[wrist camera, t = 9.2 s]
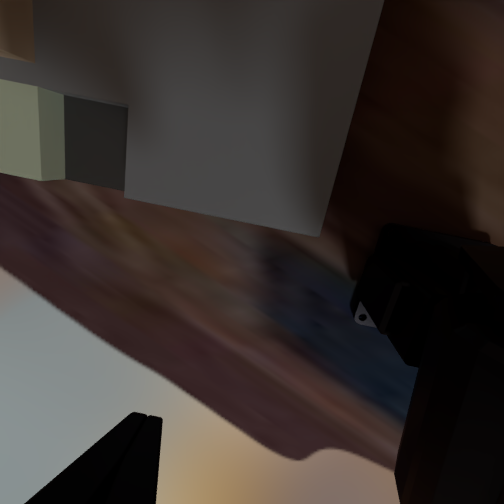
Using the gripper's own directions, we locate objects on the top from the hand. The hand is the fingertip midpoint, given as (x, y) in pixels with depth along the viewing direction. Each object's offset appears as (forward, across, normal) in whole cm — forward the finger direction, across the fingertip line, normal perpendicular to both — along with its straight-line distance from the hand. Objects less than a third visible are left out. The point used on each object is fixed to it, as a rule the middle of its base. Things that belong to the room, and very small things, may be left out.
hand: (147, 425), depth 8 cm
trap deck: (+11, +5, -12) cm, 17 cm away
